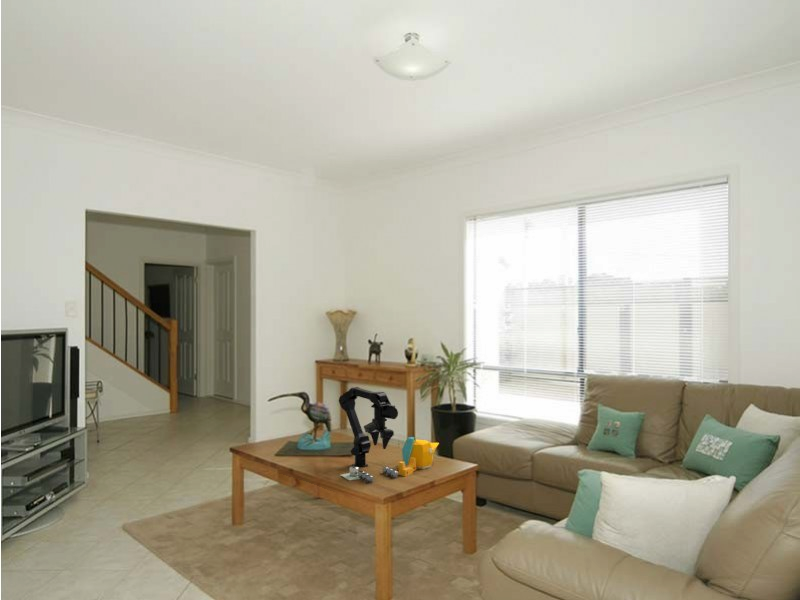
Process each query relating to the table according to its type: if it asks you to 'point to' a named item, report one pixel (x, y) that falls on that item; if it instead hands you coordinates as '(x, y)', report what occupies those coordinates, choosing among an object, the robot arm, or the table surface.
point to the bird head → (419, 452)
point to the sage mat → (349, 477)
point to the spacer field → (369, 478)
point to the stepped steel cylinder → (354, 471)
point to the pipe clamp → (409, 469)
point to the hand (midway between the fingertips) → (379, 447)
